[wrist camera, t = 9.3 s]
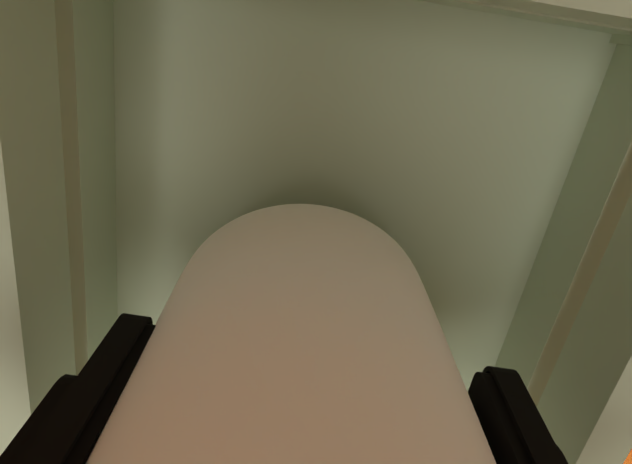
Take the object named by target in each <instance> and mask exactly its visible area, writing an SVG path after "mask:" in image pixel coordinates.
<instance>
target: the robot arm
mask: <svg viewBox="0 0 632 464" xmlns="http://www.w3.org/2000/svg"><path fill="white" fill-rule="evenodd" d="M155 327H156V325H153V321H152V318H151V317H147V316H140V315H134V314H127V313H123V314H121V315H120V316H119V317H118V319H117V320H116V321H115V323H114V324H113V326H112V327H111V329H110V330H109V331H108V333H107V334H106V336H105V337H104V339H103V340H102V341H101V343H100V344H99V346H98V347H97V349H96V350H95V351H94V353H93V354H92V356H91V357H90V359H89V360H88V361H87V363H86V364H85V366H84V367H83V368H82V370H81V371H80V373H79V374H78V376H76V375H69V374H65V375H63V376H61V377H60V378H59V379H58V380H57V381H56V382H55V384H54V385H53V386H52V388H51V389H50V390H49V392H48V393H47V394H46V396H45V397H44V398H43V400H42V401H41V402H40V404H39V405H38V406H37V408H36V409H35V410H34V412H33V413H32V414H31V416H30V417H29V418H28V420H27V421H26V422H25V424H24V425H23V426H22V428H21V429H20V430H19V432H18V433H17V434H16V436H15V437H14V438H13V440H12V441H11V442H10V444H9V445H8V446H7V448H6V449H5V450H4V452H3V453H2V454H1V456H0V464H86V462H87V460H88V458H89V456H90V454H91V452H92V450H93V448H94V446H95V444H96V442H97V440H98V438H99V436H100V434H101V432H102V431H103V429H104V427H105V425H106V423H107V421H108V419H109V417H110V415H111V413H112V411H113V409H114V407H115V405H116V403H117V401H118V399H119V397H120V396H121V394H122V392H123V390H124V388H125V386H126V384H127V382H128V380H129V378H130V376H131V374H132V372H133V370H134V368H135V366H136V364H137V363H138V361H139V359H140V357H141V355H142V353H143V351H144V349H145V347H146V345H147V343H148V341H149V339H150V337H151V335H152V333H153V331H154V329H155ZM468 395H469V397H470V400H471V402H472V404H473V407H474V409H475V412H476V414H477V417H478V419H479V422H480V424H481V427H482V429H483V432H484V434H485V436H486V439H487V441H488V444H489V446H490V449H491V451H492V454H493V456H494V459H495V461H496V464H568V462H567V460H566V458H565V456H564V454H563V452H562V451H561V450H560V448H559V447H558V446H557V445H556V444H555V442H554V440H553V438H552V436H551V434H550V432H549V430H548V428H547V426H546V424H545V423H544V421H543V419H542V417H541V415H540V413H539V411H538V409H537V407H536V405H535V403H534V401H533V400H532V398H531V396H530V394H529V392H528V390H527V388H526V386H525V384H524V382H523V380H522V379H521V377H520V375H519V373H518V372H517V371H516V370H514V369H507V368H500V367H493V366H486V367H485V368H484V369H483V371H482V372H476V373H475V374H474V376H473V379H472V382H471V384H470V387H469V390H468Z"/></svg>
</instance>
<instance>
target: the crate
mask: <svg viewBox="0 0 632 464" xmlns="http://www.w3.org/2000/svg"><path fill="white" fill-rule="evenodd" d="M285 204H314V205H322V206H328V207H333V208H337V209H340V210H344V211H347V212H349V213H352V214H355V215H357V216H359V217H361V218H363V219H365V220H367V221H369V222H371V223H373V224H374V225H376V226H377V227H379V228H380V229H382V230H383V231H384V232H386V233H387V234H388V235H389V236H390V237H391V238H393V239H394V240H395V241H396V242H397V243H398V244H399V246H400V247H401V248H402V249H403V250H404V251H405V253H406V254H407V255H408V257H409V258H410V260H411V262H412V263H413V265H414V267H415V268H416V270H417V272H418V274H419V276H420V279H421V281H422V283H423V285H424V288H425V290H426V292H427V295H428V297H429V299H430V302H431V304H432V307H433V309H434V311H435V314H436V316H437V319H438V321H439V324H440V326H441V328H442V331H443V333H444V336H445V338H446V341H447V343H448V345H449V348H450V350H451V353H452V355H453V358H454V360H455V363H456V365H457V368H458V370H459V372H460V375H461V377H462V380H463V382H464V385H465V387H466V390H467V392H468V390H469V387H470V384H471V382H472V379H473V376H474V374H475V373H476V372H482V371H483V369H484V368H485V367H486V366H493V367H500V368H507V369H514V370H516V371H517V372H518V373H519V375H520V377H521V379H522V380H523V382H524V384H525V386H526V388H527V390H528V392H529V394H530V396H531V398H532V400H533V401H534V403H535V405H536V407H537V409H538V411H539V413H540V415H541V417H542V419H543V421H544V423H545V424H546V426H547V428H548V430H549V432H550V434H551V436H552V438H553V440H554V442H555V444H556V445H557V446H558V447H559V448H560V450H561V451H562V452H563V454H564V456H565V458H566V460H567V462H568V464H623V463H624V461H625V459H626V457H627V456H628V454H629V452H630V450H631V449H632V0H0V456H1V454H2V453H3V452H4V450H5V449H6V448H7V446H8V445H9V444H10V442H11V441H12V440H13V438H14V437H15V436H16V434H17V433H18V432H19V430H20V429H21V428H22V426H23V425H24V424H25V422H26V421H27V420H28V418H29V417H30V416H31V414H32V413H33V412H34V410H35V409H36V408H37V406H38V405H39V404H40V402H41V401H42V400H43V398H44V397H45V396H46V394H47V393H48V392H49V390H50V389H51V388H52V386H53V385H54V384H55V382H56V381H57V380H58V379H59V378H60V377H61V376H63V375H65V374H69V375H76V376H78V374H79V373H80V371H81V370H82V368H83V367H84V366H85V364H86V363H87V361H88V360H89V359H90V357H91V356H92V354H93V353H94V351H95V350H96V349H97V347H98V346H99V344H100V343H101V341H102V340H103V339H104V337H105V336H106V334H107V333H108V331H109V330H110V329H111V327H112V326H113V324H114V323H115V321H116V320H117V319H118V317H119V316H120V315H121V314H123V313H127V314H134V315H140V316H147V317H151V318H152V321H153V325H155V324H156V322H157V320H158V318H159V316H160V314H161V312H162V310H163V308H164V306H165V305H166V303H167V301H168V299H169V297H170V295H171V293H172V291H173V289H174V287H175V285H176V283H177V282H178V280H179V278H180V276H181V274H182V272H183V270H184V269H185V267H186V265H187V263H188V262H189V260H190V259H191V257H192V256H193V255H194V253H195V252H196V251H197V249H198V248H199V247H200V246H201V245H202V243H203V242H204V241H205V240H206V239H207V238H208V237H210V236H211V235H212V234H213V233H214V232H216V231H217V230H218V229H220V228H221V227H222V226H224V225H225V224H227V223H229V222H230V221H232V220H234V219H236V218H238V217H240V216H242V215H245V214H247V213H250V212H253V211H256V210H259V209H263V208H267V207H271V206H277V205H285Z"/></svg>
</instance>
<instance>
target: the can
mask: <svg viewBox="0 0 632 464" xmlns="http://www.w3.org/2000/svg"><path fill="white" fill-rule="evenodd" d="M155 325H156V327H155V329H154V331H153V333H152V335H151V337H150V339H149V341H148V343H147V345H146V347H145V349H144V351H143V353H142V355H141V357H140V359H139V361H138V363H137V364H136V366H135V368H134V370H133V372H132V374H131V376H130V378H129V380H128V382H127V384H126V386H125V388H124V390H123V392H122V394H121V396H120V397H119V399H118V401H117V403H116V405H115V407H114V409H113V411H112V413H111V415H110V417H109V419H108V421H107V423H106V425H105V427H104V429H103V431H102V432H101V434H100V436H99V438H98V440H97V442H96V444H95V446H94V448H93V450H92V452H91V454H90V456H89V458H88V460H87V462H86V464H496V461H495V459H494V456H493V454H492V451H491V449H490V446H489V444H488V441H487V439H486V436H485V434H484V432H483V429H482V427H481V424H480V422H479V419H478V417H477V414H476V412H475V409H474V407H473V404H472V402H471V400H470V397H469V395H468V392H467V390H466V387H465V385H464V382H463V380H462V377H461V375H460V372H459V370H458V368H457V365H456V363H455V360H454V358H453V355H452V353H451V350H450V348H449V345H448V343H447V341H446V338H445V336H444V333H443V331H442V328H441V326H440V324H439V321H438V319H437V316H436V314H435V311H434V309H433V307H432V304H431V302H430V299H429V297H428V295H427V292H426V290H425V288H424V285H423V283H422V281H421V279H420V276H419V274H418V272H417V270H416V268H415V267H414V265H413V263H412V262H411V260H410V258H409V257H408V255H407V254H406V253H405V251H404V250H403V249H402V248H401V247H400V246H399V244H398V243H397V242H396V241H395V240H394V239H393V238H391V237H390V236H389V235H388V234H387V233H386V232H384V231H383V230H382V229H380V228H379V227H377V226H376V225H374V224H373V223H371V222H369V221H367V220H365V219H363V218H361V217H359V216H357V215H355V214H352V213H349V212H347V211H344V210H340V209H337V208H333V207H328V206H322V205H314V204H285V205H277V206H271V207H267V208H263V209H259V210H256V211H253V212H250V213H247V214H245V215H242V216H240V217H238V218H236V219H234V220H232V221H230V222H229V223H227V224H225V225H224V226H222V227H221V228H220V229H218V230H217V231H216V232H214V233H213V234H212V235H211V236H210V237H208V238H207V239H206V240H205V241H204V242H203V243H202V245H201V246H200V247H199V248H198V249H197V251H196V252H195V253H194V255H193V256H192V257H191V259H190V260H189V262H188V263H187V265H186V267H185V269H184V270H183V272H182V274H181V276H180V278H179V280H178V282H177V283H176V285H175V287H174V289H173V291H172V293H171V295H170V297H169V299H168V301H167V303H166V305H165V306H164V308H163V310H162V312H161V314H160V316H159V318H158V320H157V322H156V324H155Z"/></svg>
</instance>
